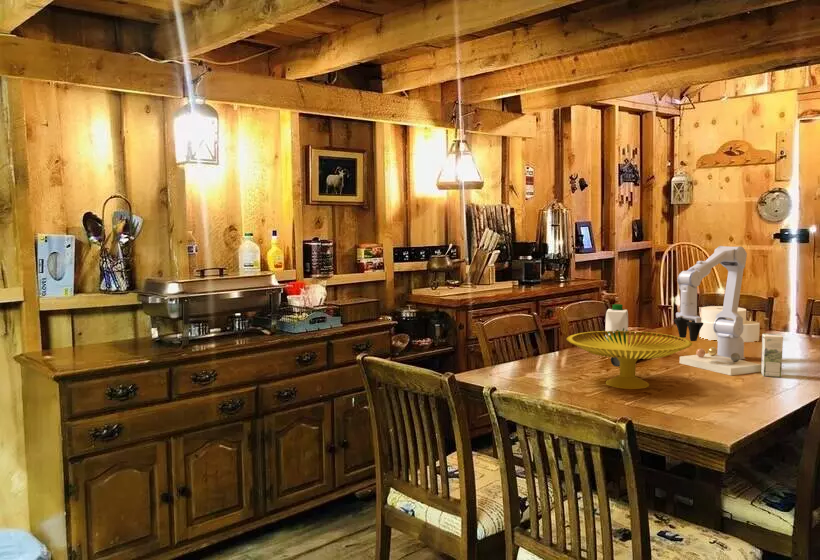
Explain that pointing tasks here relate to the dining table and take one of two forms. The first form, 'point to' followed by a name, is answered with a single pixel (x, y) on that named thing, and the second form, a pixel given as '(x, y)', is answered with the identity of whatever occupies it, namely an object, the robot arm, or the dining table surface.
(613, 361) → the flashlight
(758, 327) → the container
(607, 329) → the milk carton
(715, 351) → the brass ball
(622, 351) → the cake stand
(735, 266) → the robot arm
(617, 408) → the dining table surface
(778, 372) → the syrup box
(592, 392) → the dining table surface
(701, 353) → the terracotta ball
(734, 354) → the steel ball
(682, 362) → the hole plate
